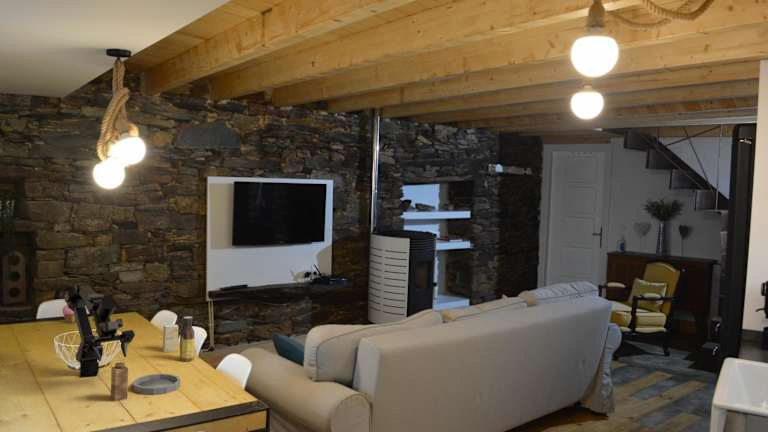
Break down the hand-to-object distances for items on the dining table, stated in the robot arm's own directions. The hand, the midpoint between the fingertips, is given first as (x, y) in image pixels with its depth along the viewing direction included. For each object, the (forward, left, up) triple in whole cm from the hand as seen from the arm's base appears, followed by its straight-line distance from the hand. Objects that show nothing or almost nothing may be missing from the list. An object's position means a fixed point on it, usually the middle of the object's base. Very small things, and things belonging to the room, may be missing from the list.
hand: (113, 358), depth 225 cm
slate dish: (+16, +1, -13) cm, 21 cm away
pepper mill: (+2, -7, -13) cm, 15 cm away
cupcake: (-16, +121, -13) cm, 123 cm away
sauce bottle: (+32, +33, -13) cm, 48 cm away
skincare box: (+27, +50, -13) cm, 59 cm away
